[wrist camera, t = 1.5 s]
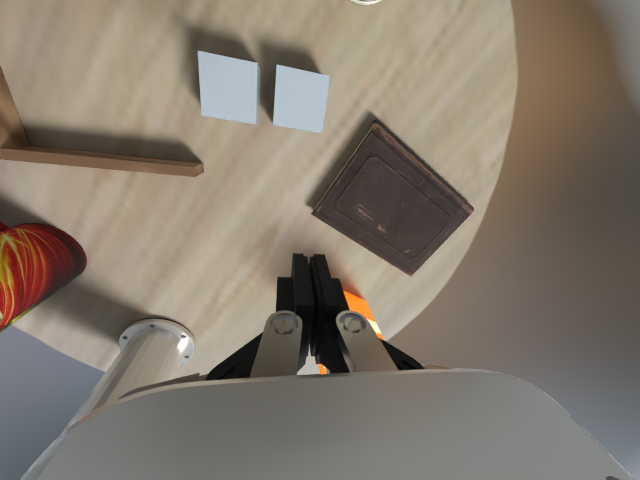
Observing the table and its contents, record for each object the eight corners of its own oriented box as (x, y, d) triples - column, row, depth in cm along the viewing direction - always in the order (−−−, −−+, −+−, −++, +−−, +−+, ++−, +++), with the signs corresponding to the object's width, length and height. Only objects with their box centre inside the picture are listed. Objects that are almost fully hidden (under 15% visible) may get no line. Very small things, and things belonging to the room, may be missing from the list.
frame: (203, 172, 33) (195, 176, 30) (22, 155, 29) (-10, 158, 26) (186, -25, 24) (172, -47, 21) (-73, -85, 20) (-137, -123, 17)
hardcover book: (405, 270, 46) (411, 276, 44) (310, 209, 38) (311, 214, 36) (466, 204, 41) (476, 208, 39) (373, 119, 33) (379, 119, 31)
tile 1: (317, 132, 33) (321, 133, 29) (274, 125, 31) (272, 124, 28) (324, 81, 30) (329, 75, 27) (277, 71, 29) (276, 64, 25)
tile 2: (259, 124, 31) (255, 124, 28) (211, 116, 30) (201, 115, 27) (260, 70, 29) (257, 62, 25) (208, 60, 28) (197, 50, 24)
